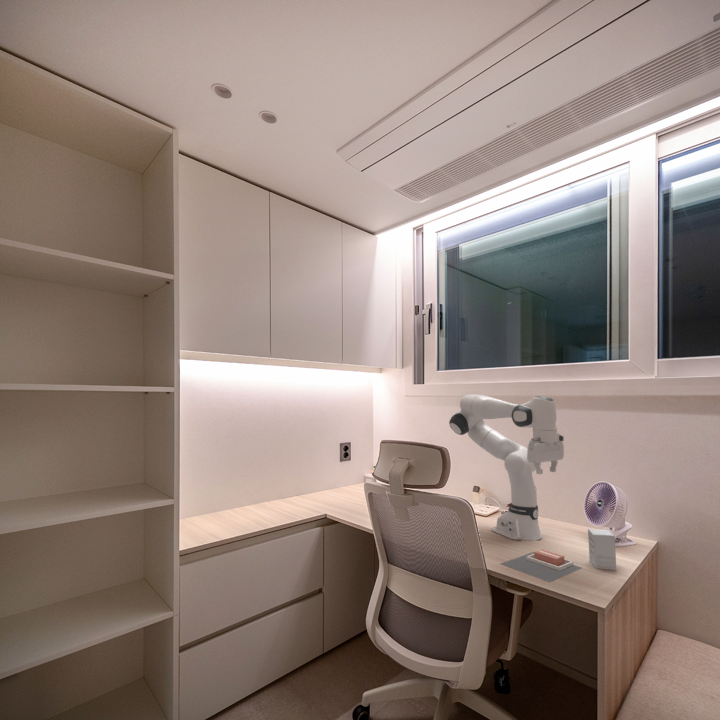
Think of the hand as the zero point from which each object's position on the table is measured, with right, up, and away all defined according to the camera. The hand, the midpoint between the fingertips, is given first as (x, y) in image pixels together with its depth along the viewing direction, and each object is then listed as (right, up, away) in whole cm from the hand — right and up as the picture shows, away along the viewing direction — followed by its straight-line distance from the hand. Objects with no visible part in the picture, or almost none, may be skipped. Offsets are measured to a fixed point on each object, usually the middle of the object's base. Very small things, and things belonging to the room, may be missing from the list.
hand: (546, 472), depth 165 cm
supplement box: (+19, -34, -6) cm, 39 cm away
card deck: (0, -34, -3) cm, 34 cm away
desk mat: (-5, -34, -7) cm, 35 cm away
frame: (0, -34, -3) cm, 34 cm away
